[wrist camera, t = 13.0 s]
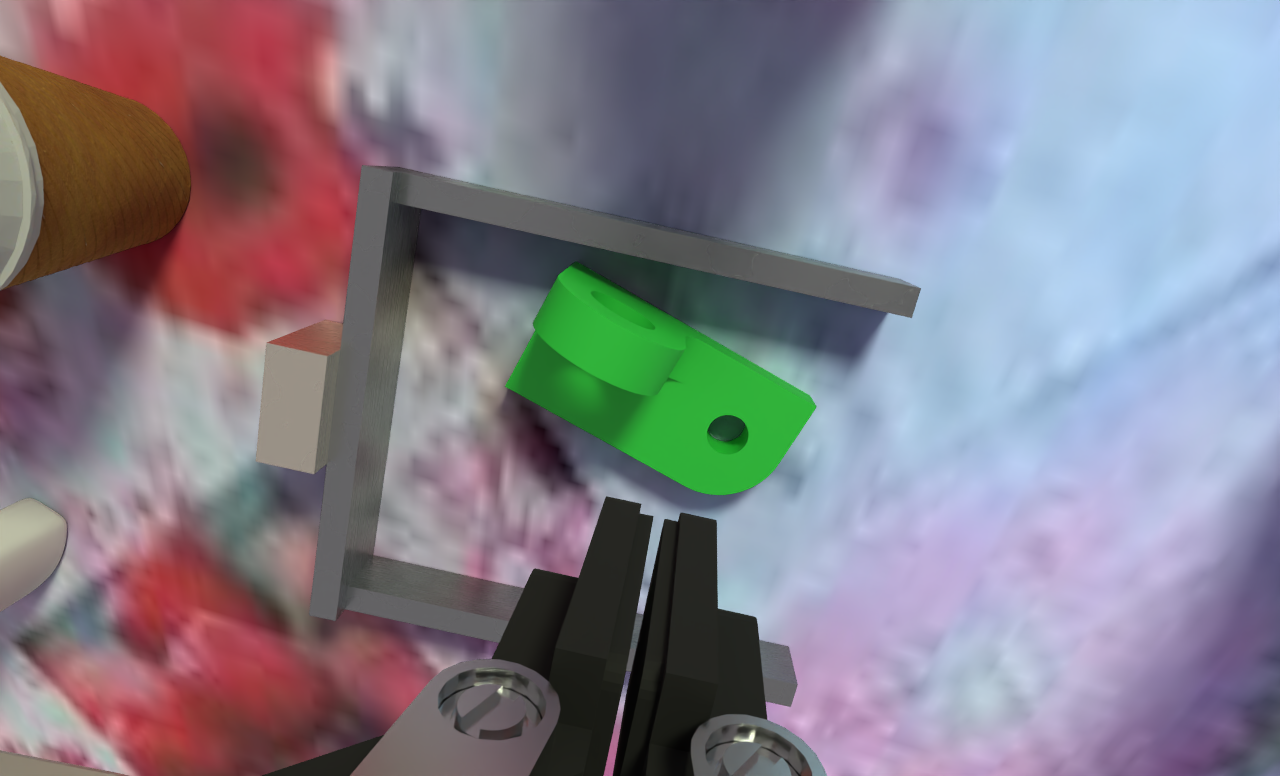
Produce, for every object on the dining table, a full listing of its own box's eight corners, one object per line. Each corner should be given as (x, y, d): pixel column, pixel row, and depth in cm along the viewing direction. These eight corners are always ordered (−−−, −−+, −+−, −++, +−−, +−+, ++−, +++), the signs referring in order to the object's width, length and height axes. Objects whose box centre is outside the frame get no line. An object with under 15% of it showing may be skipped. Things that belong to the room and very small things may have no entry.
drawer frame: (900, 279, 34) (938, 296, 29) (782, 667, 39) (797, 740, 34) (343, 154, 34) (284, 149, 29) (298, 561, 39) (241, 618, 34)
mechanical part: (514, 375, 36) (468, 428, 28) (576, 260, 34) (546, 284, 27) (739, 500, 37) (755, 585, 29) (809, 394, 35) (845, 454, 28)
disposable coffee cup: (147, 13, 33) (-148, -81, 21) (268, 225, 35) (61, 247, 23) (-31, 117, 34) (-398, 85, 22) (96, 315, 36) (-182, 380, 24)
